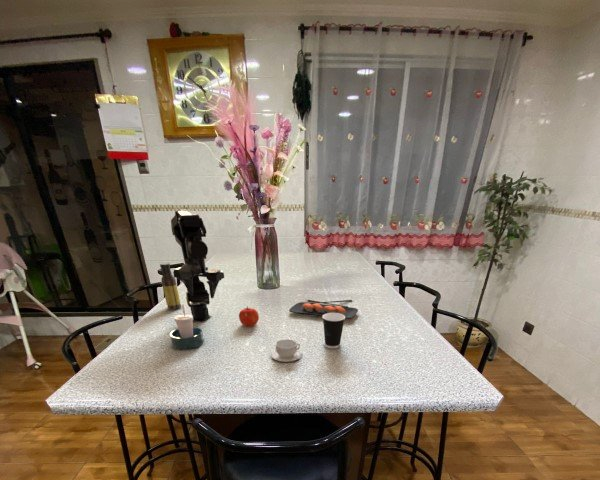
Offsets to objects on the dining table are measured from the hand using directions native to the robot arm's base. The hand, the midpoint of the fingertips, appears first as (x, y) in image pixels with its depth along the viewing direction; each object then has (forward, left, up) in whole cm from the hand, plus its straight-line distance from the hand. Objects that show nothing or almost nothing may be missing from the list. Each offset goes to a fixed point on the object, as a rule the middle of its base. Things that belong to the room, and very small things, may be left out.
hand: (202, 297), depth 137 cm
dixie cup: (+52, +2, -13) cm, 54 cm away
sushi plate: (+38, +42, -13) cm, 58 cm away
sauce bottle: (-30, +18, -13) cm, 37 cm away
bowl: (+2, -15, -13) cm, 20 cm away
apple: (+14, +10, -13) cm, 22 cm away
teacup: (+40, -12, -13) cm, 44 cm away
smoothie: (+2, -15, -13) cm, 20 cm away
